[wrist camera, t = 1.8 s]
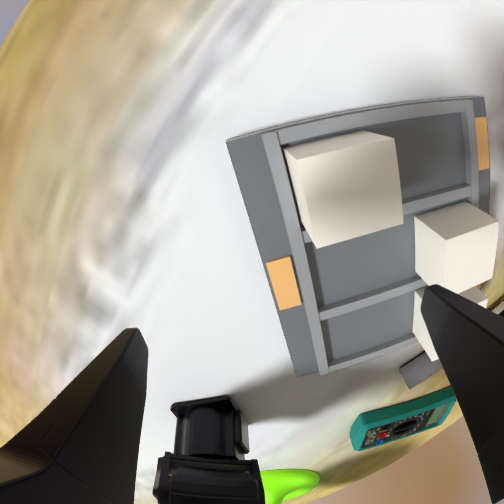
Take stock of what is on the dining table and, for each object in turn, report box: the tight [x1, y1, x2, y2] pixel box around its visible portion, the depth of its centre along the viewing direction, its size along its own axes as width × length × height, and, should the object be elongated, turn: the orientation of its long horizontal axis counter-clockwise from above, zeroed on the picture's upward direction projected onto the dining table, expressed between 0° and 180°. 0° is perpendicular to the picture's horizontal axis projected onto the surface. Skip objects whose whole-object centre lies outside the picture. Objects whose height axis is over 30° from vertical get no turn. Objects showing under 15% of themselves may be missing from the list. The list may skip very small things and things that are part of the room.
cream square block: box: [283, 130, 404, 248], centre depth 16 cm, size 5×5×4 cm
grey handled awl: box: [399, 301, 504, 389], centre depth 26 cm, size 14×3×3 cm
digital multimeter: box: [350, 386, 457, 451], centre depth 33 cm, size 7×15×3 cm, turn 95°
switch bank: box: [226, 96, 490, 377], centre depth 21 cm, size 19×20×2 cm
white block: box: [412, 286, 488, 362], centre depth 21 cm, size 5×5×4 cm
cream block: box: [414, 201, 499, 294], centre depth 18 cm, size 5×5×4 cm
